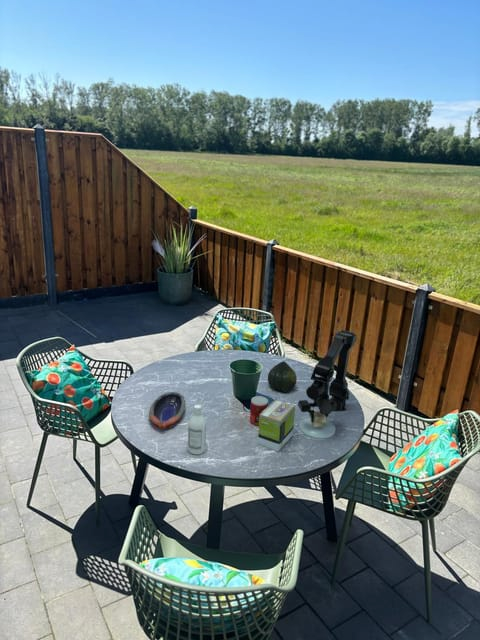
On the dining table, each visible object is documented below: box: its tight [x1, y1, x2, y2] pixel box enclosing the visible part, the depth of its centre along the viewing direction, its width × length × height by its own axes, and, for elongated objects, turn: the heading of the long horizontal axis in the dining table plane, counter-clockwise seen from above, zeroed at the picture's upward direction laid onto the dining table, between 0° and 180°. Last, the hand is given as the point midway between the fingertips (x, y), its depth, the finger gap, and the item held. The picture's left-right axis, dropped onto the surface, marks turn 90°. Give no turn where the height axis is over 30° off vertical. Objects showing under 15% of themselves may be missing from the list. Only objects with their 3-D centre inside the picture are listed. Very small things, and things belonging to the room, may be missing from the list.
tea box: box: [257, 399, 296, 452], centre depth 192 cm, size 15×10×15 cm
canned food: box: [249, 395, 269, 427], centre depth 206 cm, size 8×8×11 cm
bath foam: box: [187, 404, 207, 455], centre depth 182 cm, size 7×7×20 cm
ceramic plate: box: [298, 416, 336, 440], centre depth 204 cm, size 16×16×1 cm
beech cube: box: [311, 410, 327, 427], centre depth 203 cm, size 5×5×5 cm
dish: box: [148, 391, 186, 430], centre depth 208 cm, size 16×31×5 cm, turn 175°
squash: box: [267, 361, 297, 393], centre depth 239 cm, size 14×15×15 cm
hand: (317, 421), depth 203 cm, fingers closed on beech cube, 5 cm apart
